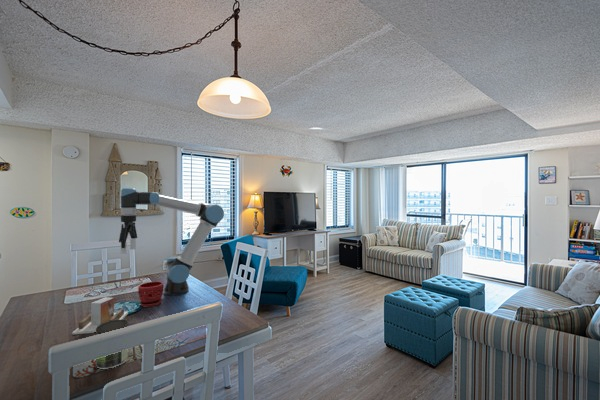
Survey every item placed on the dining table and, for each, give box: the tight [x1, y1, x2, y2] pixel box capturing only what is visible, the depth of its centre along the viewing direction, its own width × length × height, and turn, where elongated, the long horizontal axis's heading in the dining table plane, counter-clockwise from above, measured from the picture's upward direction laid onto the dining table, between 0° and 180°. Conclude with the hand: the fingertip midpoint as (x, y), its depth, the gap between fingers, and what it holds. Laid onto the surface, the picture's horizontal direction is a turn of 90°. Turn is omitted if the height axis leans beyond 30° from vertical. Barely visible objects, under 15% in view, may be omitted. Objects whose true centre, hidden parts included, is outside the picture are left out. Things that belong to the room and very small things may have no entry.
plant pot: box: [137, 281, 164, 308], centre depth 163 cm, size 13×13×12 cm
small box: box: [90, 296, 115, 325], centre depth 138 cm, size 8×6×10 cm
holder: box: [72, 308, 129, 336], centre depth 138 cm, size 20×16×4 cm
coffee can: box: [95, 319, 129, 370], centre depth 106 cm, size 10×10×14 cm
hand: (128, 251), depth 160 cm, fingers open, 13 cm apart
